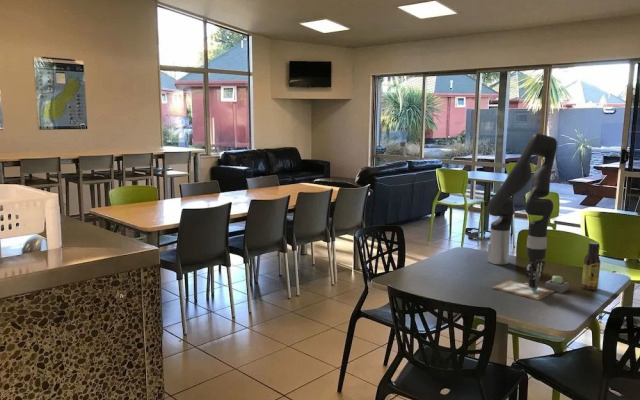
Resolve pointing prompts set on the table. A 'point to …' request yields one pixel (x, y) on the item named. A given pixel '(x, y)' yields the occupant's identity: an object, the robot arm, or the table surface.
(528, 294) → the clipboard
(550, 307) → the table surface
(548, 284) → the button housing
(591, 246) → the sauce bottle
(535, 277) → the cylinder
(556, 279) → the button
